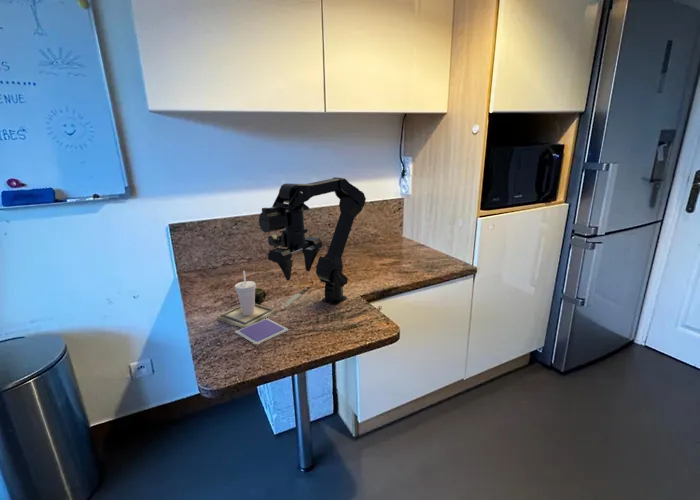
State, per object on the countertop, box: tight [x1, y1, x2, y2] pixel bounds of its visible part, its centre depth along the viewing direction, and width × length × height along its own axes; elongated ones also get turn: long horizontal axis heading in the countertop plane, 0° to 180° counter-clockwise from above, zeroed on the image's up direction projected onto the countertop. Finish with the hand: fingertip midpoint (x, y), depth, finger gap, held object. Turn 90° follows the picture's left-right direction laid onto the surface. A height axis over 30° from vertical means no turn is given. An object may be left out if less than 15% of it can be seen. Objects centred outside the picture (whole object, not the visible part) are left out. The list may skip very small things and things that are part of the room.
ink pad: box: [234, 317, 290, 344], centre depth 106 cm, size 11×11×1 cm
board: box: [216, 303, 277, 329], centre depth 116 cm, size 13×13×1 cm
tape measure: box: [255, 287, 267, 304], centre depth 128 cm, size 7×7×4 cm
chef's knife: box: [284, 286, 311, 308], centre depth 130 cm, size 19×1×3 cm
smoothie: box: [234, 270, 257, 315], centre depth 115 cm, size 6×6×14 cm
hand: (298, 275), depth 113 cm, fingers open, 9 cm apart
